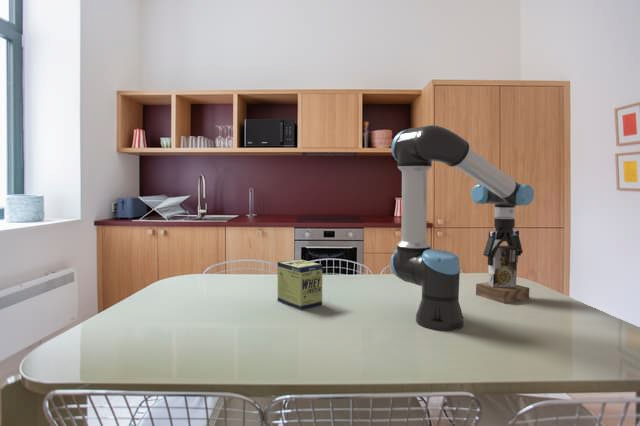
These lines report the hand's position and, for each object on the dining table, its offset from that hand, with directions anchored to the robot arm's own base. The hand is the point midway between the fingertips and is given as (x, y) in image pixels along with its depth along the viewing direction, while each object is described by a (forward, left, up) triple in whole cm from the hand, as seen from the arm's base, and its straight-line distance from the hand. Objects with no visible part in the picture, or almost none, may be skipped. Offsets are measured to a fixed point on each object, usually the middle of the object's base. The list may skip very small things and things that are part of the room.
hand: (502, 272), depth 174 cm
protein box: (-78, +24, -10) cm, 82 cm away
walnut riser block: (0, 0, -11) cm, 11 cm away
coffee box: (0, 0, -6) cm, 6 cm away
